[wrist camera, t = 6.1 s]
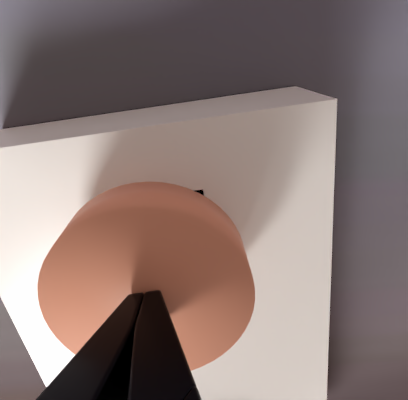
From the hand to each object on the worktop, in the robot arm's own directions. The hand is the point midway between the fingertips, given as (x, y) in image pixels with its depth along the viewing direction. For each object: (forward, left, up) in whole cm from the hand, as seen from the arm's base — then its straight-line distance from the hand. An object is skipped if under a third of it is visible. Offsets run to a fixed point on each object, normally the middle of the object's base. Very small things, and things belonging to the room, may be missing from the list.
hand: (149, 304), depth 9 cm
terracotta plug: (0, 0, -5) cm, 5 cm away
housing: (-6, 0, -7) cm, 9 cm away
